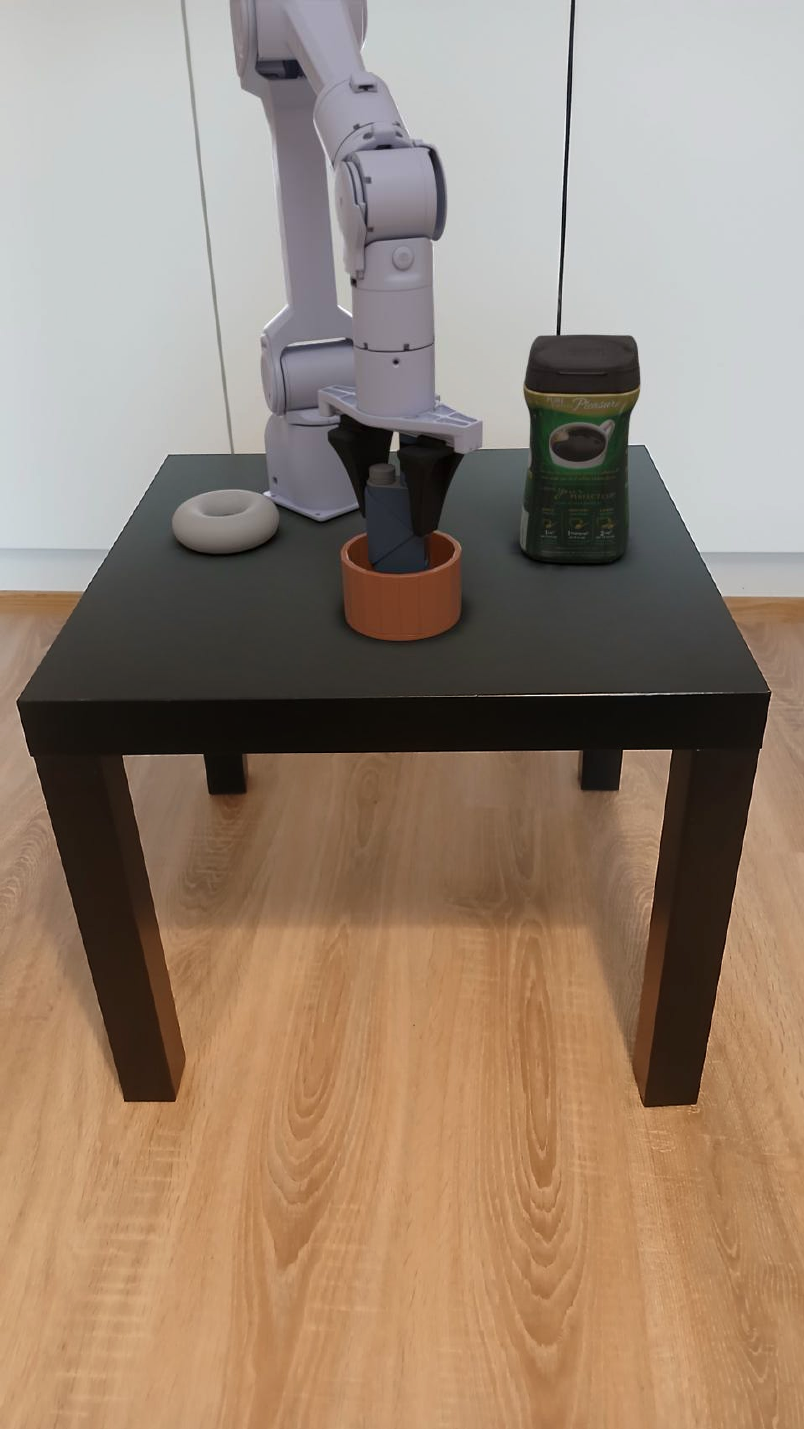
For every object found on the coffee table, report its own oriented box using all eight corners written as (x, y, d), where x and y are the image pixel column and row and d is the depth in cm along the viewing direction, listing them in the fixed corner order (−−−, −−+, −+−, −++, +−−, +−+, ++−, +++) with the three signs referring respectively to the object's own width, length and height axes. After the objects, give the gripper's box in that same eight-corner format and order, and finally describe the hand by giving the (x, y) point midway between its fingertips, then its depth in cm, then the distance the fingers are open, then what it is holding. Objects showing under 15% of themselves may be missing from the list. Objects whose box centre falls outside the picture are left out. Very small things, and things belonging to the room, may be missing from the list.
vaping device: (429, 577, 82) (427, 425, 75) (364, 572, 83) (356, 421, 76) (437, 563, 84) (435, 414, 77) (373, 558, 85) (366, 410, 78)
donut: (158, 558, 96) (262, 562, 94) (151, 522, 94) (258, 526, 92) (197, 515, 104) (294, 518, 102) (192, 482, 102) (290, 484, 101)
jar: (321, 613, 86) (316, 551, 83) (405, 576, 91) (403, 517, 88) (400, 653, 80) (397, 588, 77) (485, 611, 85) (486, 549, 82)
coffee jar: (625, 532, 98) (645, 324, 87) (628, 569, 91) (649, 348, 81) (520, 529, 99) (527, 323, 89) (515, 565, 92) (522, 347, 82)
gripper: (511, 345, 72) (506, 530, 80) (360, 317, 80) (368, 486, 88) (444, 368, 68) (445, 561, 75) (291, 335, 76) (306, 512, 84)
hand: (400, 523), depth 81 cm, fingers closed on vaping device, 5 cm apart
